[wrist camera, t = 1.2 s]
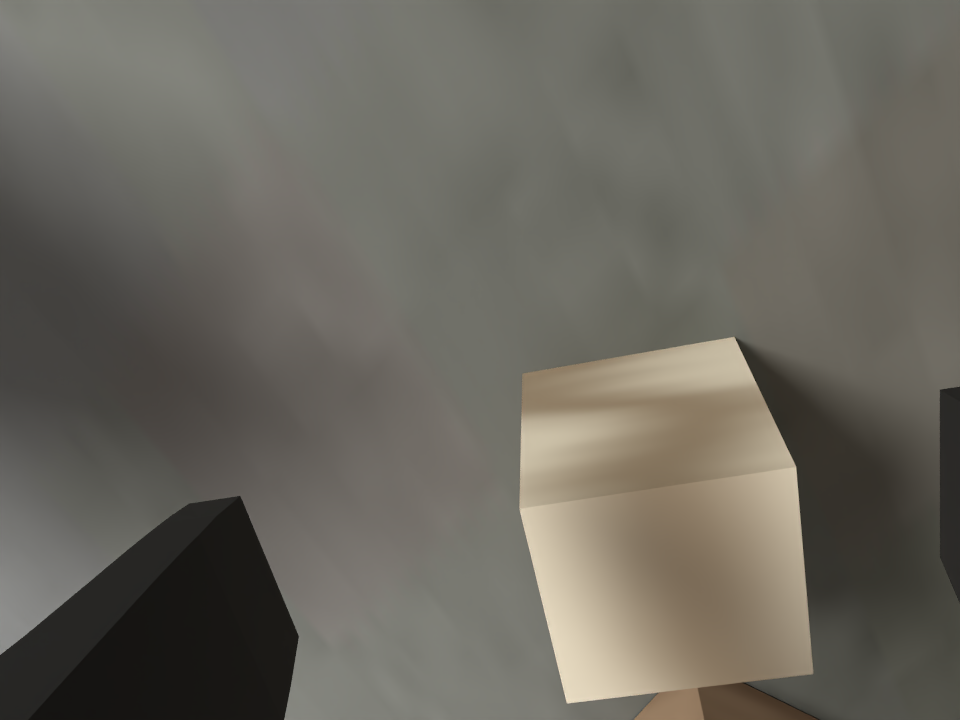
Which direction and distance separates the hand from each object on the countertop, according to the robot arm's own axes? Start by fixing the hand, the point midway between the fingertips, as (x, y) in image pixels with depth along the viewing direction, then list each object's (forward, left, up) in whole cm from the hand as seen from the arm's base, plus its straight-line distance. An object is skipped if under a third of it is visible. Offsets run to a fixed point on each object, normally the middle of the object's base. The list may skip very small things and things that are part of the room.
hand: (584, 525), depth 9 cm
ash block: (-3, -4, -10) cm, 11 cm away
